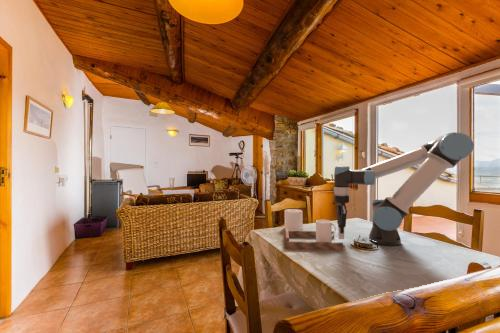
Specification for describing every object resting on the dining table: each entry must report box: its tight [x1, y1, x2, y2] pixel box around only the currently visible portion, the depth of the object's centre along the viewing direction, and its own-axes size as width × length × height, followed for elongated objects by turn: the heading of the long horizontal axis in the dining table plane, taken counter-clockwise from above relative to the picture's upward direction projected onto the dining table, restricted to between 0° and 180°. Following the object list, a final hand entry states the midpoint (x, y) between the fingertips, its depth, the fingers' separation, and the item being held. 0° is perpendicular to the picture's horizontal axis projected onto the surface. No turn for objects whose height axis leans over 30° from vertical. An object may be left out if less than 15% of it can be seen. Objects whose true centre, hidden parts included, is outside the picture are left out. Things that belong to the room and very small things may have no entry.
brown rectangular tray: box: [284, 227, 344, 252], centre depth 129 cm, size 28×21×5 cm
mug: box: [315, 219, 337, 242], centre depth 128 cm, size 12×8×12 cm
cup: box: [284, 208, 304, 231], centre depth 157 cm, size 12×12×12 cm
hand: (341, 238), depth 127 cm, fingers closed
